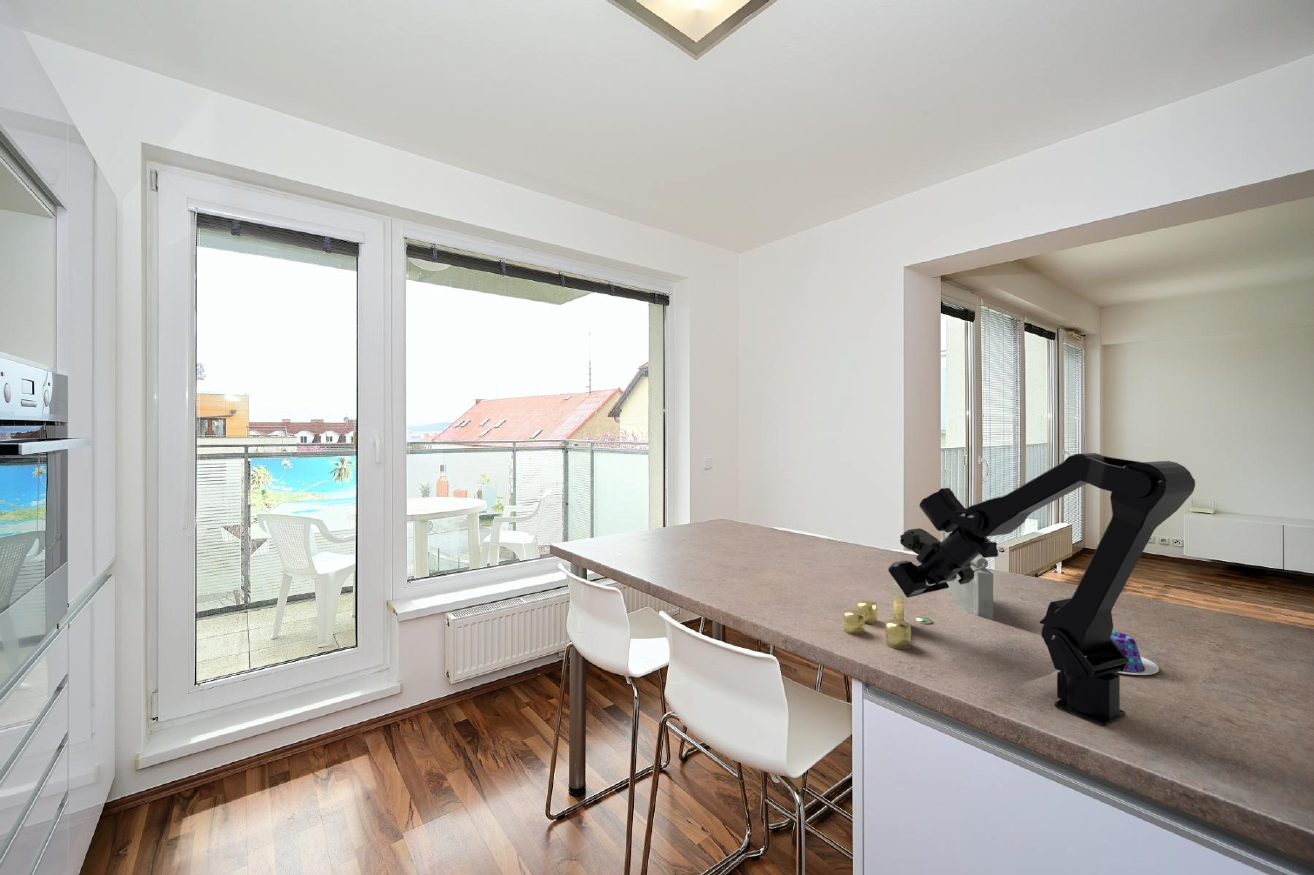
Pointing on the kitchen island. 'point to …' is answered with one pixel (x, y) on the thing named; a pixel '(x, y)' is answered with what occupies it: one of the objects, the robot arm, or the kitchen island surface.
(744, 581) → the kitchen island surface
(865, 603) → the base
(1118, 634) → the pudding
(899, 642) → the lever
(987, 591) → the geiger counter
